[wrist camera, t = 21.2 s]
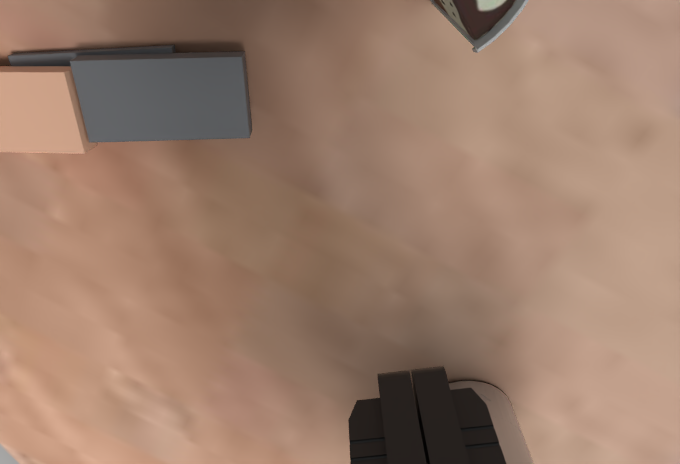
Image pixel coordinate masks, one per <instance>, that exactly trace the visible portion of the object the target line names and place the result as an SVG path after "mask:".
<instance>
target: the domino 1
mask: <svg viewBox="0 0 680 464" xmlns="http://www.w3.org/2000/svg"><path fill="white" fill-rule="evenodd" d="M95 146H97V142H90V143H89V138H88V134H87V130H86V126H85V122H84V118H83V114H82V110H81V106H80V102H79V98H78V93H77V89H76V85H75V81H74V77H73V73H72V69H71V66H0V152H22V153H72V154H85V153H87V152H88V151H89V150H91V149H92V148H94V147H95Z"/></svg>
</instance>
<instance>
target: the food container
mask: <svg viewBox="0 0 680 464" xmlns="http://www.w3.org/2000/svg"><path fill="white" fill-rule="evenodd" d="M431 2H432V4H433V5H434V6H435V7H436V8H437V9H438V10H439V11H440V12H441V13H442V14H443V15H444V16H445V17H446V18H447V19H448V20H449V21H450V22H451V23H452V24H453V26H454V27H455V28H456V29H457V30H458V31H459V32H460V33H461V34H462V35H463V36H464V37H465V38H466V39H467V40H468V41H469V42H470V43H471V44H472V45H473V46H474V48H473V49H472V50H473V52H477V53H478V52H479V51H481V50H482V49H483V48H485V47H486V46H488V45H489V44H490V43H492V42H493V41H494V40H495V39H496V38H497V37H498V36H499V35H501V34H502V33H503V32H504V31H505V30H506V29H507V28H508V27H509V26H510V25H511V23H512V22H513V21H514V20H515V18H516V17H517V16H518V15H519V13H520V12H521V11H522V10H523V8H524V7H525V5H526V4H527V2H528V0H431Z"/></svg>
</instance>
